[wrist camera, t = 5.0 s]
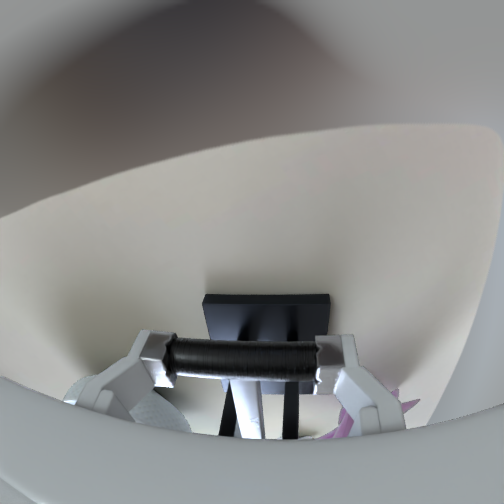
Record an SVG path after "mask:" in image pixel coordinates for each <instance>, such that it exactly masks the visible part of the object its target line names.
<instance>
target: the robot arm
mask: <svg viewBox="0 0 504 504" xmlns="http://www.w3.org/2000/svg"><path fill="white" fill-rule="evenodd" d="M176 338H178V337H177V335H176V333H173V332H163V331H154V330H144V329H142V330H141V331H140V332H139V334H138V336H137V338H136V340H135V342H134V344H133V346H132V348H131V350H130V352H129V354H128V356H127V357H123V358H122V359H120V360H119V361H117V362H116V363H114V364H113V365H111V366H110V367H109V368H107V369H106V370H104V371H103V372H101V373H100V374H98V375H97V376H95V377H94V378H93V379H91V380H90V381H88V382H87V383H85V385H84V387H83V389H82V391H81V393H80V395H79V397H78V399H77V401H76V403H75V405H73V404H70V403H67V402H64V401H61V400H58V399H56V398H53V397H50V396H48V395H45V394H43V393H40V392H38V391H35V390H33V389H30V388H28V387H26V386H23V385H21V384H19V383H17V382H15V381H12V380H10V379H8V378H6V377H4V376H0V504H504V403H503V404H501V405H498V406H495V407H492V408H489V409H486V410H483V411H480V412H477V413H473V414H470V415H467V416H463V417H459V418H456V419H452V420H448V421H444V422H440V423H436V424H431V425H427V426H422V427H417V428H411V429H406V425H405V420H404V415H403V411H402V406H401V402H400V401H399V400H398V399H397V398H396V397H395V396H394V395H393V394H392V393H391V392H390V391H389V390H388V389H387V388H386V387H384V386H383V385H382V384H381V383H380V382H379V381H378V380H377V379H376V378H375V377H374V376H373V375H372V374H371V373H370V372H369V371H368V370H367V369H366V368H365V367H364V366H360V365H359V360H358V354H357V349H356V344H355V339H354V335H353V334H345V335H321V336H315V337H314V342H315V349H316V365H315V371H316V374H315V378H314V381H313V390H314V395H328V394H335V396H336V398H337V399H338V400H339V402H340V403H341V404H342V406H343V407H344V408H345V410H346V411H347V412H348V413H349V415H350V416H351V417H352V419H353V420H354V423H353V425H352V428H351V430H350V432H349V434H348V436H347V437H343V438H328V439H296V440H285V439H253V438H237V437H226V436H215V435H207V434H199V433H191V432H185V431H178V430H172V429H166V428H161V427H156V426H151V425H146V424H141V423H137V422H135V420H134V418H133V417H132V416H131V415H130V413H129V411H130V410H131V409H132V408H134V407H135V406H136V405H137V404H138V403H139V402H140V401H141V400H142V399H143V398H144V397H145V396H146V395H147V394H148V393H149V392H150V391H151V390H152V389H154V388H155V386H163V387H172V388H174V385H175V382H176V379H177V376H178V375H175V374H174V373H173V372H172V371H171V368H170V362H169V354H170V348H171V344H172V342H173V340H174V339H176Z"/></svg>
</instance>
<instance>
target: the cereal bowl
mask: <svg viewBox="0 0 504 504" xmlns="http://www.w3.org/2000/svg"><path fill="white" fill-rule="evenodd" d="M95 376H97V375H93V376H88V377H84V378H82V379H80V380H78V381H77V382H76V383H74V384H73V386H71V388H70V389H69V390H68V392H67V394H66V395H65V397H64V399H63V400H62V401H64V402H67V403H70V404H73V405H75V403H76V401H77V399H78V397H79V395H80V393H81V391H82V389H83V387H84V385H85V383H87V382H88V381H90V380H91V379H93V378H94V377H95ZM129 413H130V415H131V416H132V417H133V418H134V420H135V422H137V423H141V424H146V425H151V426H156V427H161V428H166V429H172V430H178V431H185V432H191V433H192V431H191V428H190V425H189V424H188V422H187V420H186V419H185V417H184V416H183V415H182V413H181V412H180V411H178V409H177V408H175V407H174V405H172V404H171V403H170V402H169V401H167V400H166V399H164V398H163V397H162V396H161V395H160V394H158V393H157V392H156V391H154V390H153V389H152V390H151V391H150V392H149V393H148V394H147V395H146V396H145V397H144V398H143V399H142V400H141V401H140V402H139V403H138V404H137V405H136V406H135V407H134V408H132V409H131V410H130V411H129Z"/></svg>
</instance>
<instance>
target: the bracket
mask: <svg viewBox="0 0 504 504" xmlns="http://www.w3.org/2000/svg"><path fill="white" fill-rule="evenodd" d="M202 306H203V310H204V315H205V319H206V323H207V327H208V332H209V336H210V340H229V341H268V342H300V341H313V342H314V337H315V336H321V335H327V331H328V323H329V315H330V306H331V303H330V297H329V294H302V295H225V294H205V297H204V300H203V302H202ZM221 383H222V387H223V390H224V392H227V394H226V399H225V404H224V409H223V415H222V420H221V425H220V430H219V435H218V436H226V437H237V438H242V435H241V431H240V426H239V422H238V417H237V413H236V408H235V404H234V399H233V394H232V390H231V385H230V380H227V379H221ZM260 383H261V394H284V412H283V432H282V439H285V440H296V439H298V427H299V394H314V390H313V381H260Z"/></svg>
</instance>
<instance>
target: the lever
mask: <svg viewBox="0 0 504 504" xmlns="http://www.w3.org/2000/svg"><path fill="white" fill-rule="evenodd" d="M169 362H170V368H171V371H172V372H173V373H174V374H175V375H181V376H190V377H201V378H213V379H227V380H230V385H231V390H232V394H233V399H234V404H235V408H236V413H237V417H238V422H239V426H240V431H241V435H242V438H253V439H265V429H264V418H263V406H262V395H261V383H260V381H314V378H315V374H316V371H315V365H316V349H315V342H313V341H300V342H268V341H229V340H207V339H191V338H176V339H174V340H173V342H172V344H171V348H170V354H169Z"/></svg>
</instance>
